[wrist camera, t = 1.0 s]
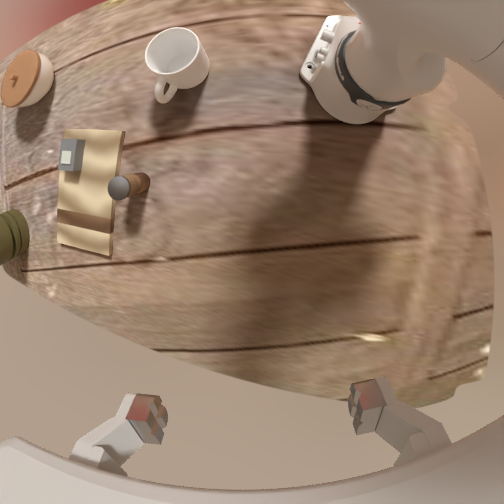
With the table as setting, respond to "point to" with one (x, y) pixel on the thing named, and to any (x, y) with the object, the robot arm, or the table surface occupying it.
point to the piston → (13, 235)
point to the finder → (71, 154)
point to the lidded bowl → (27, 79)
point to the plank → (90, 192)
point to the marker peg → (128, 185)
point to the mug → (176, 61)
